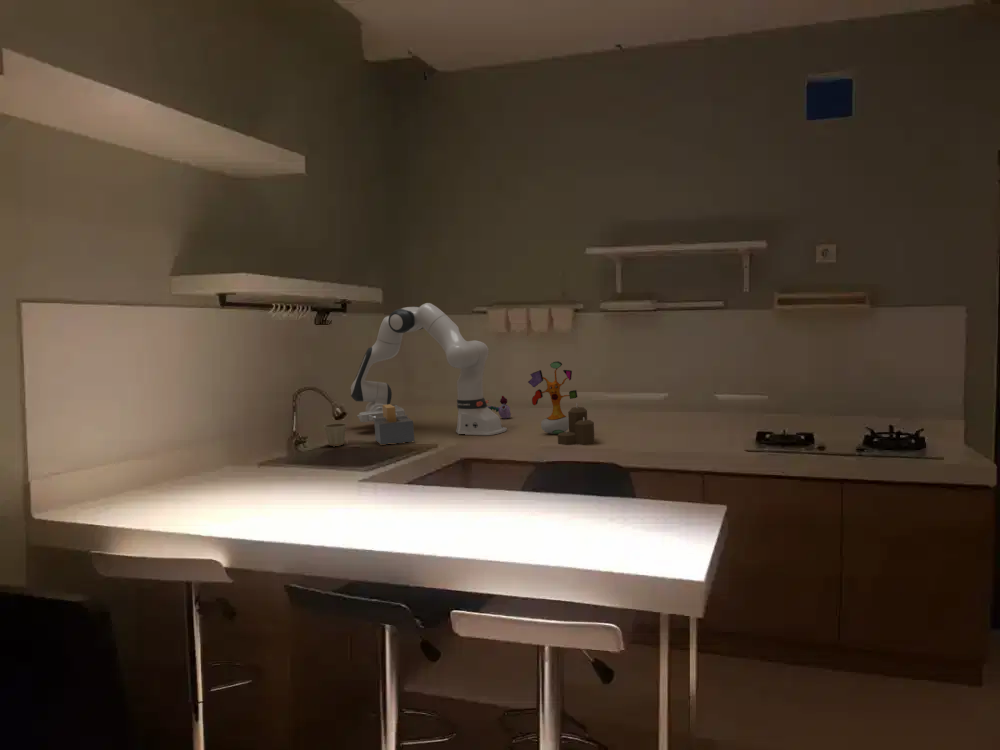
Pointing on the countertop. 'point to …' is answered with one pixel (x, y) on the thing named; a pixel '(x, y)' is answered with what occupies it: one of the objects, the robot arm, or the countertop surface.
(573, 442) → the candle
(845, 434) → the countertop surface
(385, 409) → the tan rectangular block
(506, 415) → the toy
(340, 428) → the flower pot
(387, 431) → the block
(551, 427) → the decorative sculpture
